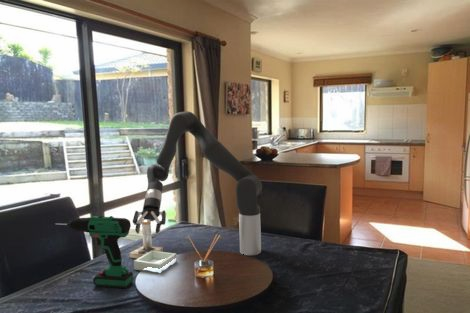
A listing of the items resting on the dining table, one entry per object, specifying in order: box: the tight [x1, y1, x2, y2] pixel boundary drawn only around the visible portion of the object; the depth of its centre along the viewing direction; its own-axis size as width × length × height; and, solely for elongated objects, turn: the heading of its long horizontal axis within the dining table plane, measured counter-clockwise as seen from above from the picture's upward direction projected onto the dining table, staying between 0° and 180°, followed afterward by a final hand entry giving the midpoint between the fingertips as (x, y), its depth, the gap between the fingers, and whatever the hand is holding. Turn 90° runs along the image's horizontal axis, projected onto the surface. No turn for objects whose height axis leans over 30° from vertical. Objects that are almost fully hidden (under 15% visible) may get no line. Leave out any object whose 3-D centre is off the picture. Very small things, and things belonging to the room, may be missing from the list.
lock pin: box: [141, 219, 153, 252], centre depth 160 cm, size 4×4×15 cm
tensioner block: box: [129, 245, 164, 259], centre depth 160 cm, size 10×10×3 cm
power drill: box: [54, 215, 134, 289], centre depth 132 cm, size 6×29×25 cm, turn 78°
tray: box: [133, 251, 177, 271], centre depth 148 cm, size 12×12×4 cm
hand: (147, 232), depth 161 cm, fingers open, 8 cm apart
